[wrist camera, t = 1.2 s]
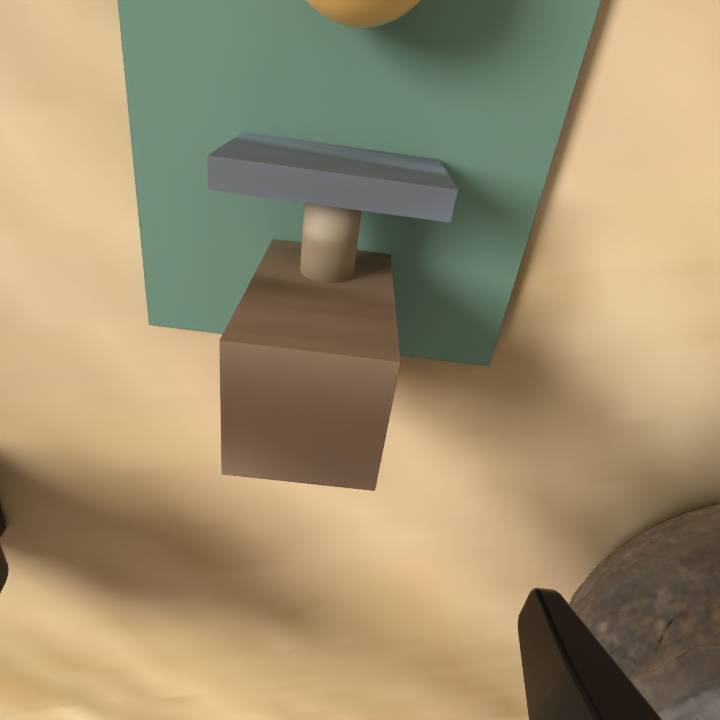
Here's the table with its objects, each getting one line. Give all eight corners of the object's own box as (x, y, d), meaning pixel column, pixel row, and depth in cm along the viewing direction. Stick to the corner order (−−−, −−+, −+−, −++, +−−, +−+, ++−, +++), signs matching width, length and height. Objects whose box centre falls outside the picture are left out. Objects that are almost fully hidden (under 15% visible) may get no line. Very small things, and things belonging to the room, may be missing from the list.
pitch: (486, 359, 20) (488, 366, 20) (153, 318, 20) (148, 325, 19) (777, -609, 9) (797, -641, 9) (55, -770, 9) (39, -813, 8)
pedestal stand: (399, 358, 19) (412, 494, 14) (241, 338, 19) (183, 470, 13) (439, 159, 16) (480, 226, 10) (243, 131, 15) (162, 183, 9)
